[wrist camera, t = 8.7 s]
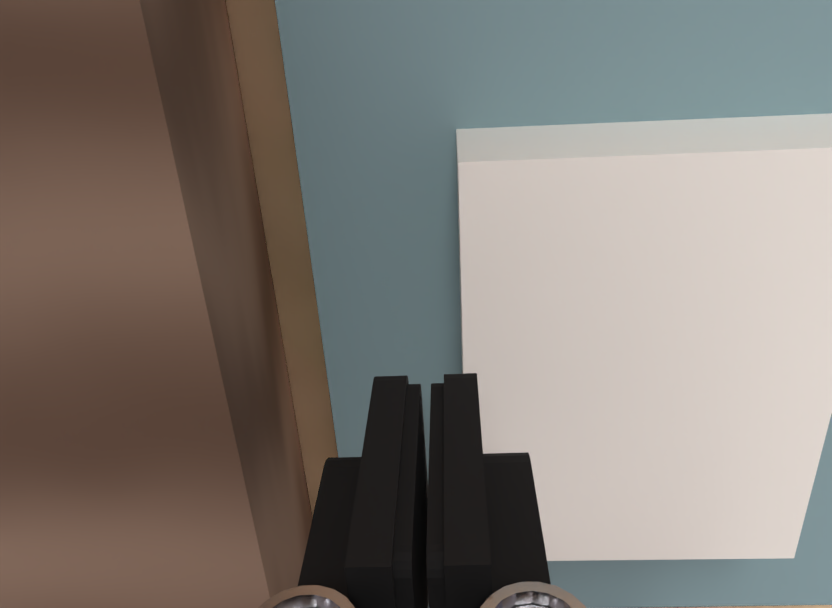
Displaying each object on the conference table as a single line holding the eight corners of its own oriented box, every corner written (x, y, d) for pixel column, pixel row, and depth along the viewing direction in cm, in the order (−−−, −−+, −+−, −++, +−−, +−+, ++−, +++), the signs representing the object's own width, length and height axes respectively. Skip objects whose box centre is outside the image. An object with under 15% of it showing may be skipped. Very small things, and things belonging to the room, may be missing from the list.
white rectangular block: (900, 145, 12) (834, 113, 13) (458, 162, 12) (455, 128, 14) (794, 558, 16) (755, 488, 18) (467, 561, 16) (465, 492, 18)
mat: (237, -307, 11) (230, -316, 11) (1123, -386, 10) (1148, -397, 10) (361, 599, 20) (360, 611, 20) (839, 592, 20) (846, 604, 19)
